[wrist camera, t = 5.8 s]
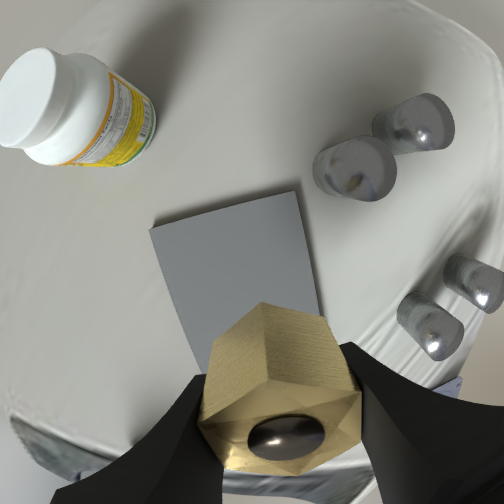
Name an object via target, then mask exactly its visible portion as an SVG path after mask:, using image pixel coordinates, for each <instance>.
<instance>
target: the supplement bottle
mask: <svg viewBox="0 0 504 504" xmlns="http://www.w3.org/2000/svg"><path fill="white" fill-rule="evenodd" d="M155 125H156V115H155V110H154V107H153V105H152V103H151V101H150V100H149V98H148V97H147V96H146V95H145V94H143V93H142V92H141V91H140V90H138V89H137V88H136V87H134V86H133V85H132V84H130V83H129V82H128V81H126V80H125V79H124V78H122V77H121V76H120V75H118V74H117V73H116V72H114V71H113V70H112V69H110V68H109V67H108V66H106V65H105V64H104V63H102V62H101V61H100V60H98V59H96V58H95V57H93V56H91V55H87V54H82V53H75V54H68V55H65V56H64V55H62V54H59V53H57V52H55V51H53V50H51V49H49V48H45V47H38V48H35V49H32V50H29V51H28V52H26V53H24V54H23V55H22V56H21V57H19V58H18V59H17V60H16V61H15V62H14V63H13V64H12V66H11V67H10V68H9V69H8V70H7V72H6V73H5V75H4V76H3V78H2V80H1V81H0V145H2V146H5V147H11V148H21V149H24V151H25V152H26V154H27V155H28V156H29V157H30V158H32V159H33V160H35V161H36V162H38V163H41V164H45V165H58V166H65V165H70V166H95V167H120V166H124V165H127V164H129V163H131V162H133V161H134V160H135V159H137V158H138V157H139V156H140V155H141V154H142V153H143V152H144V151H145V150H146V148H147V147H148V145H149V143H150V141H151V139H152V137H153V134H154V131H155Z"/></svg>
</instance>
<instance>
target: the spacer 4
mask: <svg viewBox="0 0 504 504" xmlns="http://www.w3.org/2000/svg"><path fill="white" fill-rule="evenodd" d="M443 279H444V283H445V285H446V286H447V287H448V288H449V289H451V290H452V291H454V292H455V293H457V294H459V295H460V296H462V297H463V298H465V299H466V300H468V301H469V302H471V303H472V304H474V305H475V306H477V307H478V308H480V309H481V310H483V311H484V312H486V313H488V314H491V313H493V312H494V311H496V310H497V309H498V308H499V307H500V305H501V304H502V302H503V300H504V272H502V271H500V270H498V269H496V268H494V267H491V266H489V265H487V264H485V263H483V262H480V261H478V260H476V259H474V258H471V257H469V256H467V255H464V254H462V253H457V254H454V255H453V256H452V257H451V258H450V259H449V260H448V262H447V264H446V266H445V269H444V273H443Z"/></svg>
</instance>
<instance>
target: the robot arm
mask: <svg viewBox="0 0 504 504" xmlns="http://www.w3.org/2000/svg"><path fill="white" fill-rule="evenodd" d="M339 347H340V349H341V351H342V353H343V355H344V357H345V360H346V361H347V363H348V365H349V367H350V369H351V371H352V373H353V375H354V377H355V380H356V382H357V384H358V386H359V388H360V390H361V399H362V406H361V441H362V443H363V445H364V447H365V449H366V451H367V454H368V456H369V458H370V461H371V464H372V467H373V470H374V474H375V477H376V480H377V483H378V487H379V490H380V494H381V497H382V501H383V504H504V406H492V405H485V404H478V403H473V402H468V401H464V400H459V399H457V397H458V393H459V389H460V386H461V383H462V378H461V377H457V378H455V379H453V380H451V381H450V382H448V383H446V384H444V385H442V386H440V387H438V388H436V389H434V390H430V389H427V388H425V387H423V386H420V385H418V384H416V383H414V382H412V381H410V380H408V379H407V378H405V377H403V376H401V375H399V374H398V373H396V372H394V371H393V370H391V369H390V368H388V367H387V366H385V365H383V364H382V363H380V362H379V361H377V360H376V359H375V358H373V357H372V356H370V355H369V354H368V353H366V352H365V351H364V350H362V349H361V348H360V347H358V346H357V345H356V344H354V343H353V342H348V343H345V344H341V345H339ZM206 375H207V374H201V375H195V376H194V378H193V379H192V380H191V381H190V383H189V384H188V386H187V387H186V388H185V390H184V391H183V392H182V394H181V395H180V396H179V398H178V399H177V400H176V401H175V403H174V404H173V405H172V406H171V408H170V409H169V410H168V412H167V413H166V414H165V415H164V416H163V417H162V418H161V420H160V421H159V422H158V423H157V424H156V425H155V426H154V427H153V428H152V430H151V431H150V432H149V433H148V434H147V435H146V436H145V437H144V438H143V439H141V440H140V441H139V442H138V443H137V444H136V445H135V446H134V447H132V448H131V449H130V450H129V451H128V452H126V453H125V454H123V455H122V456H121V457H119V458H118V459H117V460H115V461H114V462H112V463H111V464H110V465H108V466H106V467H105V468H103V469H101V470H100V471H98V472H96V473H94V474H93V475H91V476H89V477H87V478H85V479H82V480H80V481H78V482H75V483H73V484H70V485H68V486H65V487H63V488H60V489H57V490H56V491H55V494H54V496H53V498H52V500H51V502H50V504H222V482H223V472H224V466H223V465H222V463H221V462H220V460H219V459H218V457H217V456H216V454H215V453H214V451H213V450H212V448H211V446H210V445H209V443H208V442H207V440H206V438H205V437H204V435H203V434H202V432H201V430H200V429H199V427H198V425H197V421H198V416H199V411H200V406H201V401H202V396H203V390H204V385H205V380H206Z"/></svg>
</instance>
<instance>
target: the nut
mask: <svg viewBox="0 0 504 504" xmlns="http://www.w3.org/2000/svg"><path fill="white" fill-rule="evenodd" d="M361 406H362V399H361V390H360V388H359V386H358V384H357V382H356V380H355V377H354V375H353V373H352V371H351V369H350V367H349V365H348V363H347V361H346V360H345V357H344V355H343V353H342V351H341V349H340V347H339V345H338V344H337V342H336V340H335V338H334V336H333V334H332V332H331V330H330V328H329V326H328V324H327V322H326V320H325V318H324V317H322V316H318V315H313V314H309V313H305V312H301V311H296V310H292V309H288V308H284V307H280V306H276V305H272V304H268V303H264V302H260V303H259V304H258V305H256V306H255V307H254V308H253V309H252V310H251V311H249V312H248V313H247V314H246V315H245V316H243V317H242V318H241V319H240V320H239V321H238V322H236V323H235V324H234V325H233V326H232V327H230V328H229V329H228V330H227V331H226V332H224V333H223V334H222V335H221V336H220V337H218V338H217V339H216V340H215V341H214V342H213V346H212V351H211V356H210V361H209V366H208V370H207V375H206V380H205V385H204V390H203V396H202V401H201V406H200V411H199V416H198V421H197V425H198V427H199V429H200V430H201V432H202V434H203V435H204V437H205V438H206V440H207V442H208V443H209V445H210V446H211V448H212V450H213V451H214V453H215V454H216V456H217V457H218V459H219V460H220V462H221V463H222V465H223V466H224V468H225V469H231V470H238V471H245V472H253V473H263V474H274V475H291V476H298V475H301V474H303V473H305V472H307V471H309V470H311V469H313V468H315V467H317V466H319V465H321V464H323V463H325V462H327V461H329V460H331V459H333V458H334V457H336V456H338V455H340V454H342V453H343V452H345V451H347V450H349V449H350V448H352V447H354V446H355V445H357V444H359V443H360V442H361Z"/></svg>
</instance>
